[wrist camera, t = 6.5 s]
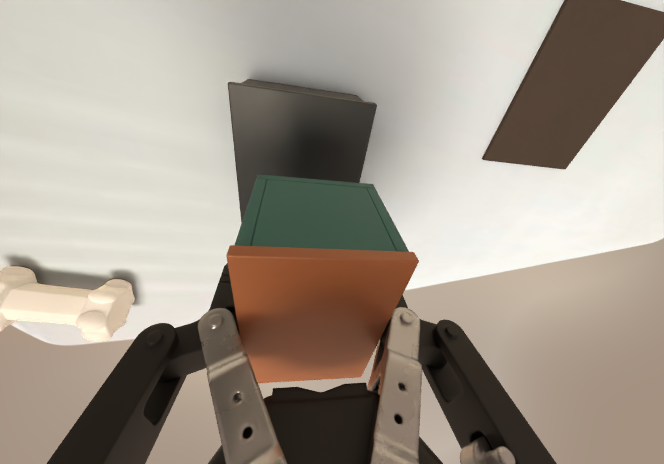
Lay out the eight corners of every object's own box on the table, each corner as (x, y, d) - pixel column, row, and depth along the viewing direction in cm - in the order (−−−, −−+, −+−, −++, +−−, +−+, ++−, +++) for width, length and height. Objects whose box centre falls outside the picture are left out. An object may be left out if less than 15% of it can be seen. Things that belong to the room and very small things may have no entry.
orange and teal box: (255, 171, 12) (225, 255, 7) (375, 182, 13) (419, 261, 8) (261, 291, 17) (247, 384, 12) (345, 292, 18) (361, 377, 14)
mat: (570, -12, 22) (574, -13, 22) (675, 17, 24) (680, 16, 24) (481, 158, 31) (483, 160, 31) (563, 168, 33) (565, 169, 33)
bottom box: (244, 74, 23) (227, 82, 18) (360, 92, 25) (377, 104, 20) (252, 204, 32) (242, 237, 26) (338, 210, 34) (345, 242, 28)
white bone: (134, 270, 36) (98, 318, 30) (139, 305, 41) (109, 352, 34) (2, 252, 32) (-73, 303, 25) (25, 293, 37) (-33, 344, 30)
